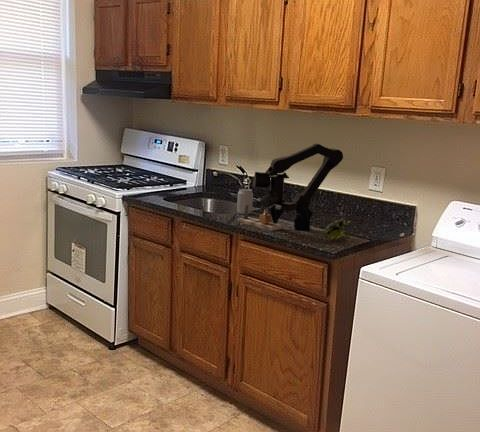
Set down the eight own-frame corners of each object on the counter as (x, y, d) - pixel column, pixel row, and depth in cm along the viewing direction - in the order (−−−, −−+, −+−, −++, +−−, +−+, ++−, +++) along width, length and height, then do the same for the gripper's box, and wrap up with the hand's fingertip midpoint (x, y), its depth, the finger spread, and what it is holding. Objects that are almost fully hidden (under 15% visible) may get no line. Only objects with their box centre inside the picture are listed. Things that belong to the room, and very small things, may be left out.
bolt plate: (282, 228, 239) (283, 210, 238) (271, 230, 234) (272, 212, 233) (247, 220, 254) (248, 203, 252) (237, 221, 249) (237, 204, 247)
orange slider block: (271, 222, 242) (271, 209, 240) (265, 223, 239) (265, 210, 237) (265, 221, 244) (266, 208, 243) (259, 222, 241) (260, 208, 240)
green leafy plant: (330, 250, 229) (338, 224, 233) (353, 250, 221) (360, 224, 225) (316, 238, 221) (324, 212, 226) (339, 238, 214) (347, 211, 218)
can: (250, 215, 264) (251, 191, 262) (235, 214, 266) (236, 189, 263) (253, 212, 272) (254, 188, 269) (238, 211, 273) (239, 187, 271)
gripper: (248, 186, 235) (246, 221, 238) (281, 193, 222) (279, 230, 225) (265, 184, 243) (263, 218, 246) (298, 190, 230) (296, 226, 233)
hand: (274, 223), depth 237 cm, fingers closed
